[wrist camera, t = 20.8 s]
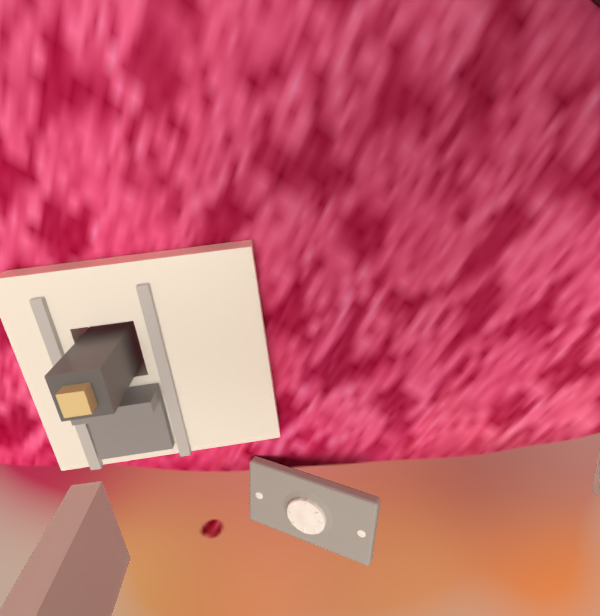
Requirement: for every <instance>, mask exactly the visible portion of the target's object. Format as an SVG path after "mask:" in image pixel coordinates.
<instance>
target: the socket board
mask: <svg viewBox="0 0 600 616" xmlns="http://www.w3.org/2000/svg"><path fill="white" fill-rule="evenodd" d="M0 318H1V320H2V323H3V325H4V328H5V330H6V333H7V335H8V338H9V340H10V343H11V345H12V348H13V350H14V353H15V355H16V358H17V360H18V363H19V365H20V368H21V371H22V373H23V376H24V378H25V381H26V383H27V386H28V388H29V391H30V393H31V396H32V398H33V401H34V403H35V406H36V408H37V411H38V413H39V416H40V418H41V421H42V423H43V426H44V428H45V431H46V433H47V436H48V438H49V441H50V443H51V446H52V448H53V451H54V453H55V456H56V458H57V461H58V463H59V466H60V468H61V471H64V470H70V469H76V468H83V467H90V469H91V470H96V469H101V468H102V466H103V464H109V463H116V462H122V461H129V460H136V459H142V458H149V457H155V456H162V455H168V454H175V453H180V457H181V456H187V455H191V451H194V450H201V449H207V448H214V447H220V446H227V445H234V444H240V443H247V442H253V441H260V440H266V439H273V438H279V437H280V429H279V418H278V412H277V405H276V398H275V392H274V385H273V378H272V372H271V365H270V358H269V352H268V345H267V338H266V332H265V325H264V318H263V312H262V305H261V298H260V292H259V285H258V278H257V272H256V265H255V258H254V252H253V245H252V240H244V241H236V242H228V243H220V244H212V245H204V246H196V247H189V248H181V249H173V250H165V251H157V252H149V253H141V254H133V255H125V256H117V257H109V258H101V259H93V260H85V261H78V262H70V263H62V264H54V265H46V266H38V267H30V268H22V269H14V270H6V271H4V272H2V273H0ZM128 321H134V325H135V328H136V332H137V336H138V339H139V343H140V347H141V350H142V354H143V358H144V361H143V362H142V363H141V365H140V367H139V369H138V371H137V373H136V374H135V376H134V378H133V380H132V382H131V384H130V386H129V387H134V386H141V385H148V384H155V383H159V387H160V391H161V395H162V398H163V402H164V406H165V410H166V413H167V417H168V421H169V425H170V428H171V432H172V436H173V440H174V447H173V449H167V450H161V451H154V452H148V453H141V454H135V455H128V456H121V457H115V458H108V459H102V460H100V457H99V454H98V451H97V448H96V445H95V442H94V440H93V437H92V434H91V431H90V428H89V425H88V423H87V424H80V425H74V426H72V423H71V421H63V422H61V419H60V417H59V414H58V411H57V409H56V406H55V404H54V401H53V398H52V396H51V393H50V390H49V388H48V385H47V382H46V380H45V377H44V376H45V375H46V374H47V373H48V372H49V371H50V369H51V368H52V367H53V366H54V365H55V364H56V363H57V362H58V361H59V360H60V359H61V358H62V357H63V356H64V354H65V353H66V352H67V351H68V350H69V349H70V348H71V347H72V346H73V345H74V344H75V343H76V342H77V341H78V339H79V338H80V337H81V336H82V335H83V334H84V333H85V332H86V331H87V327H91V326H99V325H106V324H114V323H121V322H128Z"/></svg>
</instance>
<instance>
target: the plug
mask: <svg viewBox="0 0 600 616" xmlns="http://www.w3.org/2000/svg"><path fill="white" fill-rule="evenodd" d="M143 359H144V358H143V354H142V350H141V347H140V343H139V339H138V336H137V332H136V328H135V325H134V321H128V322H121V323H114V324H106V325H99V326H91V327H90V328H89V329H88V330H87V331H86V332H85V333H84V334H83V335H82V336H81V337H80V338H79V339H78V341H77V342H76V343H75V344H74V345H73V346H72V347H71V348H70V349H69V350H68V351H67V352H66V353H65V354H64V356H63V357H62V358H61V359H60V360H59V361H58V362H57V363H56V364H55V365H54V366H53V367H52V368H51V369H50V371H49V372H48V373H47V374H46V375H45V376H44V377H45V380H46V382H47V385H48V388H49V390H50V393H51V396H52V398H53V401H54V404H55V406H56V409H57V411H58V414H59V417H60V419H61V422H63V421H70V420H76V419H83V418H90V417H97V416H103V415H110V414H115V412H116V410H117V408H118V406H119V405H120V403H121V401H122V399H123V397H124V395H125V393H126V391H127V389H128V388H129V386H130V384H131V382H132V380H133V378H134V376H135V374H136V373H137V371H138V369H139V367H140V365H141V363H142V361H143Z"/></svg>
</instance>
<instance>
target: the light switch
mask: <svg viewBox="0 0 600 616" xmlns="http://www.w3.org/2000/svg"><path fill="white" fill-rule="evenodd" d="M289 502H290V503H289ZM379 506H380V498H379V497H376V496H374V495H371V494H367V493H365V492H362V491H359V490H356V489H353V488H350V487H347V486H344V485H341V484H338V483H335V482H332V481H329V480H326V479H323V478H320V477H317V476H314V475H311V474H308V473H305V472H302V471H299V470H296V469H293V468H290V467H287V466H284V465H281V464H278V463H275V462H272V461H269V460H266V459H263V458H260V457H257V456H254V457H253V458H252V459H251V461H250V519H251V520H254V521H256V522H259V523H262V524H264V525H266V526H269V527H272V528H274V529H277V530H279V531H282V532H284V533H287V534H289V535H292V536H294V537H297V538H299V539H302V540H304V541H307V542H309V543H312V544H314V545H317V546H320V547H322V548H324V549H327V550H329V551H332V552H334V553H337V554H339V555H342V556H344V557H347V558H350V559H352V560H355V561H357V562H360V563H362V564H365V565H367V566H368V565H369V564H370V563H371V560H372V556H373V549H374V541H375V534H376V527H377V519H378V513H379Z"/></svg>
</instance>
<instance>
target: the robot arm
mask: <svg viewBox="0 0 600 616" xmlns="http://www.w3.org/2000/svg"><path fill="white" fill-rule="evenodd" d="M594 1H595V2H596V3H597V4H598V5H600V0H594ZM592 491H593V492H594V494H595V495H596V496H597V497H598V498H599V499H600V450H599V456H598V460H597V465H596V471H595V476H594V481H593V486H592ZM129 561H130V555H129V553H128V550H127V548H126V545H125V542H124V539H123V537H122V534H121V531H120V528H119V526H118V523H117V520H116V518H115V515H114V512H113V510H112V507H111V504H110V502H109V499H108V496H107V493H106V491H105V488H104V485H103V483H102V481H99V482H92V483H85V484H78V485H71V487H70V489H69V490H68V492H67V494H66V496H65V497H64V499H63V501H62V503H61V504H60V506H59V508H58V509H57V511H56V513H55V515H54V517H53V518H52V520H51V522H50V524H49V525H48V527H47V529H46V531H45V532H44V534H43V536H42V537H41V539H40V541H39V543H38V544H37V546H36V548H35V550H34V551H33V553H32V555H31V557H30V558H29V560H28V562H27V563H26V565H25V567H24V569H23V570H22V572H21V574H20V576H19V577H18V579H17V581H16V583H15V584H14V586H13V588H12V590H11V591H10V593H9V595H8V596H7V598H6V600H5V602H4V603H3V605H2V607H1V609H0V616H111V615H112V612H113V609H114V606H115V603H116V600H117V597H118V594H119V591H120V588H121V584H122V582H123V579H124V576H125V573H126V569H127V567H128V564H129Z"/></svg>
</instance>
